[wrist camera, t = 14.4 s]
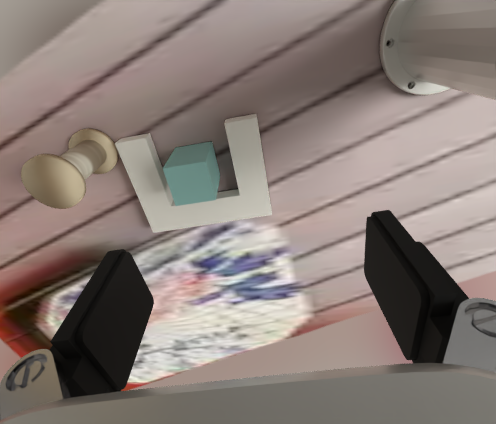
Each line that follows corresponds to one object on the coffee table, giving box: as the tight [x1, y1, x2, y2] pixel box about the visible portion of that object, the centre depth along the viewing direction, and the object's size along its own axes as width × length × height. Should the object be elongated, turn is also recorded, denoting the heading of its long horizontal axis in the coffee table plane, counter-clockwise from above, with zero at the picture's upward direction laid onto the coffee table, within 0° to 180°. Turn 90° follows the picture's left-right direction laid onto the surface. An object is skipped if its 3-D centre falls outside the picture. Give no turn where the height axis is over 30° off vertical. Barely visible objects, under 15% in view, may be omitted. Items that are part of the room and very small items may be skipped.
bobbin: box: [21, 128, 118, 209], centre depth 34 cm, size 6×6×10 cm
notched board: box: [115, 114, 272, 233], centre depth 39 cm, size 18×14×2 cm
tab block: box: [163, 141, 220, 206], centre depth 36 cm, size 5×5×7 cm
